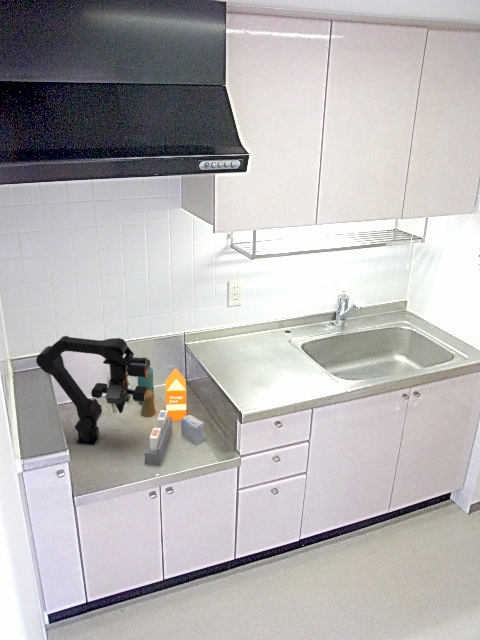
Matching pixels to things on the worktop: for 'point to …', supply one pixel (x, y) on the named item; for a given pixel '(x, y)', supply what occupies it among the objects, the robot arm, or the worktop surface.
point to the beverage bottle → (147, 380)
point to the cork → (148, 405)
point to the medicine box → (192, 429)
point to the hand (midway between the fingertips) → (121, 412)
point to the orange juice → (176, 395)
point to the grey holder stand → (160, 446)
